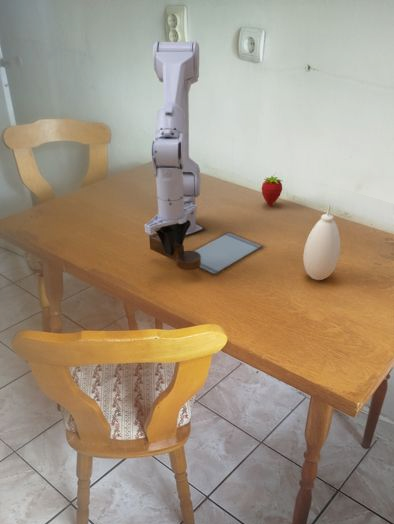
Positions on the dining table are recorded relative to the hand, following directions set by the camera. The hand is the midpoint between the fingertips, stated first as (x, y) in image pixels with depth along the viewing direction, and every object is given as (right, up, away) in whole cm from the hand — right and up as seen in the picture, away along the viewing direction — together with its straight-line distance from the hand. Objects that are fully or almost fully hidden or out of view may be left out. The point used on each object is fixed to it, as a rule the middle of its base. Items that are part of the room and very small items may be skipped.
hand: (173, 251), depth 118 cm
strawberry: (+27, +19, +30) cm, 45 cm away
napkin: (+12, +1, +9) cm, 15 cm away
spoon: (0, -1, +1) cm, 1 cm away
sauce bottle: (+34, -6, -1) cm, 34 cm away
